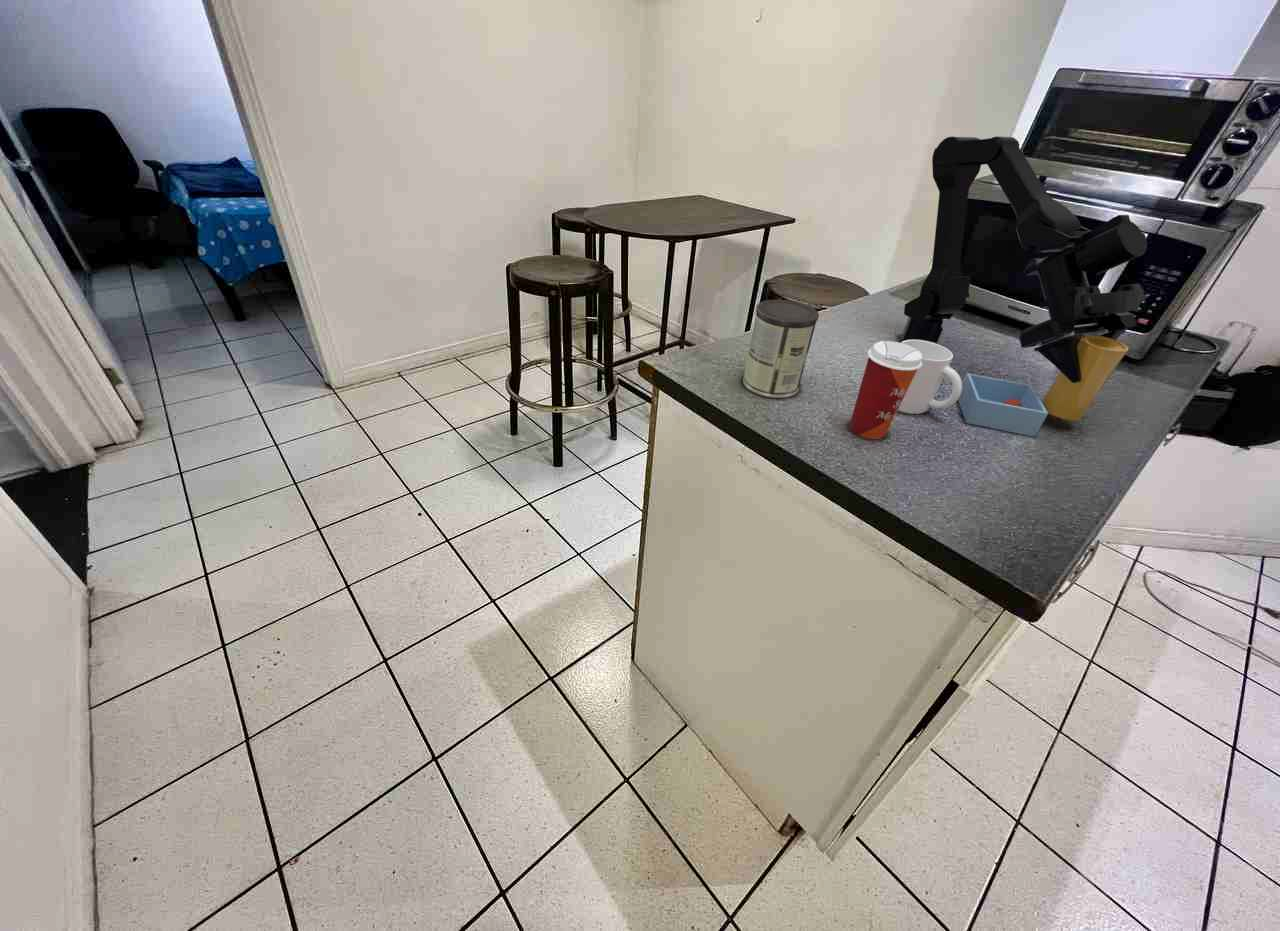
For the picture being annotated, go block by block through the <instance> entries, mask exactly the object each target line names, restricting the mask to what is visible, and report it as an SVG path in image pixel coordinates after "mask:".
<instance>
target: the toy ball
mask: <svg viewBox="0 0 1280 931" xmlns="http://www.w3.org/2000/svg"><path fill="white" fill-rule="evenodd" d="M1003 404H1007V405H1012V406H1018V407H1022V404H1021V402H1020V401H1018V400H1016V399H1009V400H1006V401H1005V402H1004V403H1003Z"/></svg>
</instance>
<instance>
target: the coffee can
mask: <svg viewBox="0 0 1280 931" xmlns="http://www.w3.org/2000/svg"><path fill="white" fill-rule="evenodd" d="M819 316H820V314H819V312H818V311H817V310H816V309H815V308H813V307H812V306H810V305H808V304H805V303H802V302H798V301H794V300H787V299H768V300H763V301H761V302H759V303H757V305H756V308H755V316H754V321H753V327H752V333H751V336H750V342H749V343H750V344H749V349H748V355H747V360H746V364H745V369H744V374H743V378H742V383H743V385H744V386H745V388H746V389H748V390H749V391H750V392H752V393H755V394H756V395H759V396H763V397H766V398H771V399H772V398H773V399H784V398H785V399H786V398H790V397H792V396H795V395H796V394H797V393H798V392H799V390H800V384H801V380H802V377H803V373H804V370H805V365H806V361H807V358H808V354H809V352H810V351H809V350H810V348H811V347H810V346H811V343H812V339H813V336H814V332H815V328H816V325H817V322H818V319H819Z"/></svg>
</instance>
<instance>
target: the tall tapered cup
mask: <svg viewBox="0 0 1280 931" xmlns="http://www.w3.org/2000/svg"><path fill="white" fill-rule="evenodd" d="M1077 351H1078V358H1079V364H1080V370H1081V381H1080V382H1077V383H1072V382H1071V381H1070V380H1069V379H1068V378H1067V377H1066V376H1065V375H1064V374H1063V373H1062V372H1061V371H1060V370H1059V372H1058V374H1057V376H1056V377H1055V379H1054V381H1053V382H1052V383H1051V385H1050V387H1049V389H1048V390H1047V392H1046V393H1045V395H1044V397H1043V398H1042V400H1041V402H1042V404H1043V405H1044V407H1045V409H1046V410H1047V412H1048V415H1051V416H1053V417H1055V418H1059V419H1062V420H1066V421H1080V420H1081V419H1082V418H1083V417H1084V416H1085V415H1086V412H1087V411H1088V409H1089V408H1090V406H1091V405H1092V404H1093V402H1094V401H1095V399H1096V398H1097V396H1099V393H1100V392H1101V391H1102V389H1103V388H1104V386H1105V385H1106V383H1107V381H1108V380H1109V379H1110V377H1111V376H1112V375H1113V373H1114V371H1115V370H1116V368H1117V367H1118V365H1119V364H1120V362H1121V361H1122V359H1123V358H1124V357H1125V355H1126V354H1127V352H1129V347H1128V346H1127V344H1125V343H1123V342H1121V341H1119V340H1114V339H1111V338H1107V337H1104V336H1098V335H1087V334H1086V335H1083V337H1082V339H1081V341H1080V342H1079V344H1078V346H1077Z"/></svg>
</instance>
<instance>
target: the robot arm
mask: <svg viewBox="0 0 1280 931" xmlns="http://www.w3.org/2000/svg"><path fill="white" fill-rule="evenodd" d="M931 165H932V166H931V168H932V169H931V170H932V179H933V180H934V183H935V185H936V188H937V190H938V195H939V196H938V203H937V214H936V222H935V234H934V242H933V252H932V253H933V254H932V261H931V262H932V263H931V269H930V272H929V273H928V275H927V276H926V277H925V280H923V283H922V285H921V288H920V293H919V296H917V297H915V298H913V299H912V300H911V301H908V302H906V303H905V304H904V308H903V309H904V310H903V315H904V316H906V317H907V320H906V323H905V326H904V328H903V331H902V333H900V334H899V340H900V343H901V342H903V341H905V340H924V341H928V342H932V343H936V344H938V342H939V340H940V337H941V335H942V332H943V331H944V328H943V326H942V325H943V323H944V320H951V318H952V317H953V316H954V315H955V314H956V313H958V312H959V311H960V310H961V309H963V308H964V306H965V305H966V302H967V299H968V298H970V285H971V281H972V279H971V276H970V275H968V276H967V275H966V276H965V275H964V274H963V272H962V270H961V260H962V252H963V243H964V233H965V225H966V218H967V209H968V199H969V192H970V187H972V184H973V183H974V181H975V180H976V178H977V176H978V175H979V173H980V171H981V167H982V165H987V166H988V168H989V170H990V172H991V173H992V176H993V177H994V178H995V180H996V182H997V183H998V185H999V187H1000V188H1001V190H1002V192H1003V194H1004V195H1005V197H1006V199H1007V201H1008V203H1009V204H1010V206H1011V207H1012V210H1013V211H1014V213H1015V215H1016V216H1015V217H1016V223H1015V224H1016V225H1015V230H1016V233H1017V234H1016V235H1017V237H1018V240H1019V243H1020V245H1021V247H1022V249H1023V250H1024V251H1026V252H1027V253H1033V254H1037V253H1039V254H1040V253H1051V254H1050V255H1048V256H1046V257H1043V258H1041V257H1039V258H1036V257H1035V258H1031V259H1030V261H1029V263H1028V265H1027V266H1026V268H1025V269H1024V270H1023V272H1022V275H1023V276H1038V279H1039V283H1040V287H1041V290H1042V294H1043V297H1044V298H1043V299H1044V300H1043V301H1040V302H1039V303H1038V304H1039V308H1040V310H1041V309H1047V312H1048V315H1049V319H1047V320H1044V321H1042V322H1040V323H1037V324H1035V325H1032V326H1029V327H1028V328H1025V329H1022V330H1021V333H1020V334H1019V336H1018V340H1019V344H1020V347H1021V349H1026V348H1027V349H1028V348H1033V350H1034V352H1038V353H1039V354H1041V355H1042V357H1043V358H1045V359H1046V360H1047V361H1048V362H1050V363H1051V364H1052V365H1053V366H1054V367H1055V368H1057V369H1058V371H1059V372H1060V371H1061V372H1062V373H1063V374H1064V375H1065V376H1066V377H1067V378H1068V379H1069V380H1070V381H1071V382H1072V383H1077V382H1080V381H1081V370H1080V364H1079V358H1078V351H1077V346H1078V344H1079V342H1080V341H1081V339H1082V337H1083V335H1086V334H1087V335H1098V336H1104V337H1107V338H1111V339H1114V340H1116V341H1118V339H1119V338H1120V336H1121V335H1123V334H1125V333H1126V331H1127V329H1130V328H1133V327H1136V326H1137V322H1136V319H1135V314H1134V312H1139V308H1140V304H1141V303H1143V302H1144V301H1145V300H1146V299H1147V294H1145V293H1144V292H1145V289H1143V288H1142V286H1141V284H1140V283H1130V284H1121V285H1120V287H1118V289H1117V290H1116V291H1111V292H1101V289H1100V287H1099V286H1097V285H1090V284H1089V281H1088V277H1087V273H1089V274H1091V275H1097V276H1098V275H1101V274H1103V273H1105V272H1107V271H1110V270H1112V269H1114V268H1116V267H1119V266H1122V265H1124V264H1125V263H1127V262H1130V261H1132V260H1135V259H1138V258H1139V257H1141V256H1143V255H1144V254H1145V253H1146V251H1147V248H1148V241H1147V237H1146V234H1145V233H1144V232H1142V230H1141V229H1140V227H1139V226H1138V225H1137V224H1136V223H1134V222H1133V221H1132V220H1131V218H1130V215H1129V214H1117V215H1116V216H1114V217H1112V218H1110V219H1109V220H1107V221H1106V222H1104V223H1103V224H1101V225H1099V226H1097V227H1095V228H1092V229H1091V230H1090V229H1088V228H1087V227H1084V226H1082V225H1081V222H1080V219H1078V217H1077V216H1076V215H1075V214H1074V213H1073V212H1072V211H1071V210H1070V209H1069V208H1068V207H1067V206H1066V205H1063V204H1062V203H1060V202H1059V201H1058V200H1055V199H1054V198H1053V197H1051V195H1050V194H1048V193H1049V192H1047V190H1046V188H1045V187H1044V185H1043V184H1042V182H1041V181H1040V178H1039V177H1038V176H1037V174H1036V172H1035V171H1034V169H1033V168H1032V165H1031V164H1030V162H1029V161H1028V159H1027V158H1026V156H1025V154H1024V153H1023V151H1022V149H1021V148H1020V143H1019V140H1017V139H1016V138H1015V137H1013V136H999V135H997V136H993V137H990V138H982V139H980V138H978V137H976V136H975V137H971V136H947V137H946V138H944V139H943V140H942V141H940V142H939V143H938V144H937V146H936V147H935V148H934V150H933V153H932V157H931ZM1067 248H1072V249H1070V250H1067V251H1065V249H1067ZM1064 251H1065V252H1064ZM1131 312H1133V313H1131ZM1038 343H1041V345H1040V346H1037V345H1038ZM1036 346H1037V347H1036Z"/></svg>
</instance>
